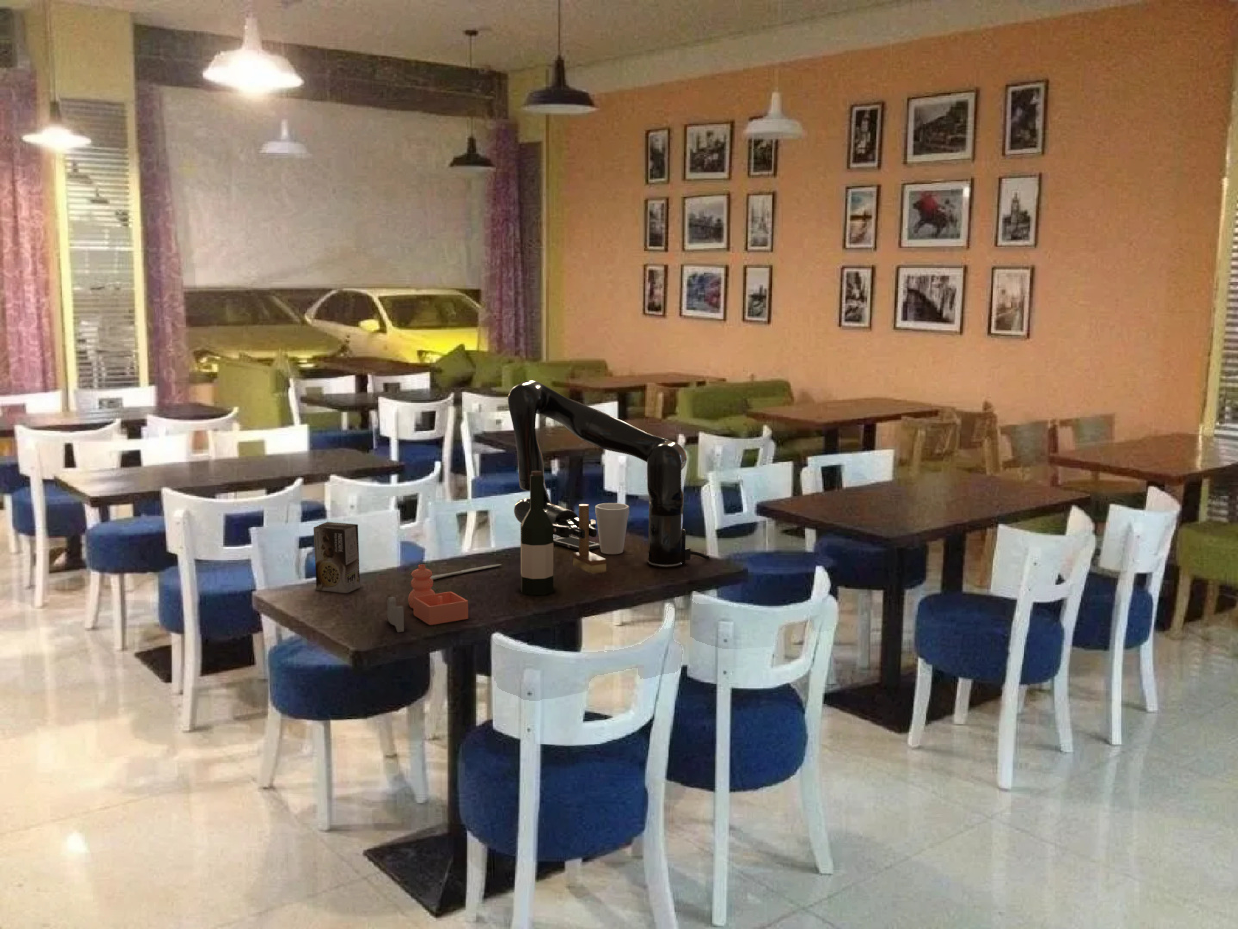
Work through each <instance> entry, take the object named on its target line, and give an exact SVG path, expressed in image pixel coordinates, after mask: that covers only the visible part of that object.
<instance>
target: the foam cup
mask: <svg viewBox="0 0 1238 929" xmlns="http://www.w3.org/2000/svg"><path fill="white" fill-rule="evenodd" d="M594 507H595V509H594V510H595V513H594V515H595V518H596V526H597V534H598V541H599V542H598V543H599V544H600V547H599V549H600V552H601V553H602V554H606V555H618V554H622V553H623V552H624V547H625V541H626V533H627V527H628V519H629V515H630V506H629V505H628V504H625V503H620V502H603V503H599V504H596V505H595V506H594Z"/></svg>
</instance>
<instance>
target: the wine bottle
mask: <svg viewBox="0 0 1238 929" xmlns="http://www.w3.org/2000/svg"><path fill="white" fill-rule="evenodd" d="M544 481H545V474H544V475H543V474H542V472H541V471H532V474H531V475H530V491H529V498H530V509H529V511H528V513H527V514H526V516H525V518H524V519H523V521H522V523H520V591H521V594H522V595H523V594H524V595H528V596H546V595H548V594H549V595H550V594H552V593H554V543H553V538H554V535H553V525H552V523H551V521H550V519H549V518H548V516H547V514H546V512H545V510H544Z"/></svg>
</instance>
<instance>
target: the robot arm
mask: <svg viewBox="0 0 1238 929" xmlns="http://www.w3.org/2000/svg"><path fill="white" fill-rule="evenodd" d="M507 406H508V410H509V413H510V419H511V423H512V428H513V433H514V439H515V445H516V451H517V452H516V454H517V467H518V483H519V488H520V489H521V490H523V491H527V492H530V475H531V474H532V471H541V472H542V474H543V475H544V476H545V466H544V457H543V452H542V450H541V447H540V445H539V441H538V437H537V430H536V420H537V415H540V416H543V417H545V418H548V419H551V420H553V421H555V422H557V423H559V424H560V425H562V426H563V427H565V429H567V430H568V431H569V432H570V433H571V434H573V435H574V436H575V437H576V438H578V439H579V440H581V441H583V442H586V443H587V444H590V445H593V446H595V447H597V448H600V449H602V450H605V451H609V452H614V453H618V454H624V455H629V456H632V457H635V458H637V459H640V460H641V461H644V462H645V463H646V484H647V485H646V487H647V489H646V490H647V493H648V540H647V541H648V542H647V544H648V545H647V546H648V547H647V551H646V556H647V565H649V566H651V567H655V568H661V569H671V568H678V567H681V566H683V565H686V561H690V560H691V555H692V556H693V555H694V556H698V557H701V558H703V559H705V560H709V559H710V556H709V555H706V554H704V553H702V552H698V551H691V548H689V547H687V546H686V542H687V541H686V539H687V538H686V536H687V530H686V529H684V491H683V489H682V471H683V469H684V468H685V467H686V464H687V460H688V456H687V453H686V450H685V449H684V447H683V446H682V445H680V444H679V442H678V443H677V442H676V441H673V440H670V439H666V438H663V437H660V436H656V435H654V434H651V433H647V432H645V431H644V430H641V429H639V428H637V427H635V426H633V425H631V424H630V423H627V422H625V421H623V420H621V419H618V418H617V417H615V416H612V415H610V414H608V413H606V412H604V411H601V410H599V409H596V408H593V407H591V406H588V405H587V404H584V403H581V402H579V401H576V400H573V399H571V398H569V397H566V396H564V395H563V394H561V393H559V392H557V391H555V390H554V389H552V388H550V387H548V386H547V385H544V384H543V383H541V382H539V381H536V380H525V381H522V382H520V383H519V384H516V385H515V386H513V387H512V388H511V389H510V391H509V393H508V395H507ZM529 509H530V497H527V498H521V499H519V500H518V501H517V502H516V503H515V505H514V508H513V513H514V516H515V518H516V520H517V521H518V522H519V523H520V524H521V523H522V521H523V519H524V518H525V516H526V514H527V513H528V511H529ZM544 510H545V512H546V514H547V516H548V518H549V519H550V521H551V523H552V525H553V536H558V537H562V538H568V537H571V536H573V537H577V538H582V539H583V538H585V530H583V529H581V528H579V515H578V514H577V513H576V512H575V511H573V510H571V509H568V508H566V507H563V506H561V505H556V504H554V503H552V501H551V498H550V496H549V492H548V489H547V485H546V482H545V480H544ZM596 526H597V521H596V519H593V518H592V519H590V520H589V537H592V538H597V534H598V528H596Z"/></svg>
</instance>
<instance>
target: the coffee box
mask: <svg viewBox="0 0 1238 929" xmlns="http://www.w3.org/2000/svg"><path fill="white" fill-rule="evenodd" d="M312 530H313V544H314V545H313V546H314V565H315V590H316V591H322V592H331V593H340V594H341V593H342V594H349V593H351V592H353V591H355V590H357V589H360V588H361V581H360V580H361V579H360V578H361V576H360V574H361V573H360V546H359V545H360V544H359V524H358V523H344V522H334V521H333V522H332V521H326V522H323V523H321V524H318V525H316V526H314V527H313V529H312Z"/></svg>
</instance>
